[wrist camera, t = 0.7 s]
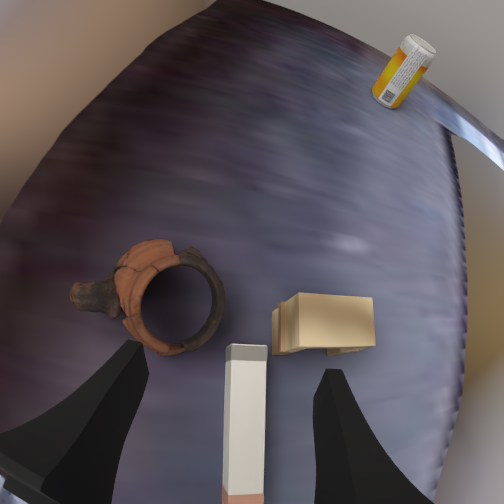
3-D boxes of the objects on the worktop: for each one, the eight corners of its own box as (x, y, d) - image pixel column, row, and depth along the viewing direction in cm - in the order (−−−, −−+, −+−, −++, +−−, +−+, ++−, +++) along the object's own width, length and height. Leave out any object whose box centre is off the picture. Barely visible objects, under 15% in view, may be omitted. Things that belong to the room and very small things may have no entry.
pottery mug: (188, 235, 30) (230, 233, 23) (196, 329, 31) (240, 353, 24) (64, 247, 23) (64, 248, 17) (80, 351, 24) (89, 389, 17)
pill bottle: (396, 100, 52) (435, 47, 38) (397, 115, 49) (440, 59, 36) (370, 84, 51) (407, 28, 38) (369, 99, 48) (410, 38, 35)
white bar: (254, 503, 21) (263, 515, 18) (221, 505, 20) (227, 517, 18) (257, 349, 27) (267, 345, 24) (225, 347, 26) (231, 343, 24)
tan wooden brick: (339, 355, 28) (379, 346, 23) (267, 355, 27) (294, 346, 21) (338, 315, 30) (375, 297, 24) (268, 311, 28) (294, 291, 23)
